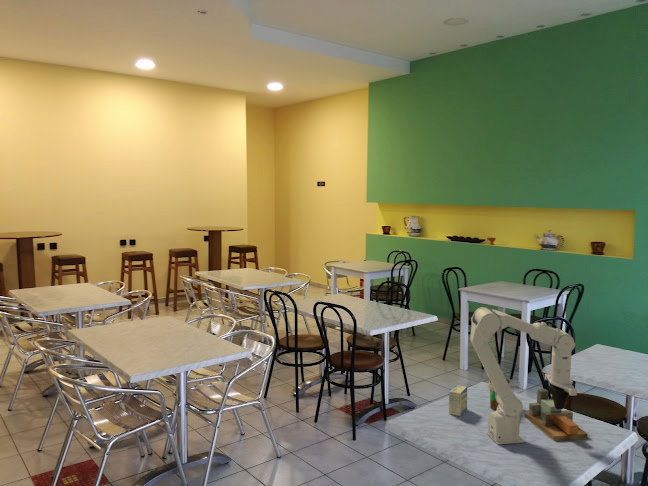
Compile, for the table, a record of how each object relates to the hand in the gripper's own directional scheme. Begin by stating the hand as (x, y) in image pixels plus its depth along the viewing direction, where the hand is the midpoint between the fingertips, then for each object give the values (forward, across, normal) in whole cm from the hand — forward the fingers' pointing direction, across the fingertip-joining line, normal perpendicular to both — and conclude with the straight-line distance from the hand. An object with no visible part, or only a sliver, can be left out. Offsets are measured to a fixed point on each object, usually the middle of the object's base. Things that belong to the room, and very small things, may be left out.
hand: (559, 408), depth 169 cm
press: (+10, +8, -4) cm, 14 cm away
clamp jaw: (+9, +3, -4) cm, 10 cm away
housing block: (+9, +11, -4) cm, 15 cm away
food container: (+11, +27, +8) cm, 30 cm away
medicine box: (+11, +25, +24) cm, 36 cm away
